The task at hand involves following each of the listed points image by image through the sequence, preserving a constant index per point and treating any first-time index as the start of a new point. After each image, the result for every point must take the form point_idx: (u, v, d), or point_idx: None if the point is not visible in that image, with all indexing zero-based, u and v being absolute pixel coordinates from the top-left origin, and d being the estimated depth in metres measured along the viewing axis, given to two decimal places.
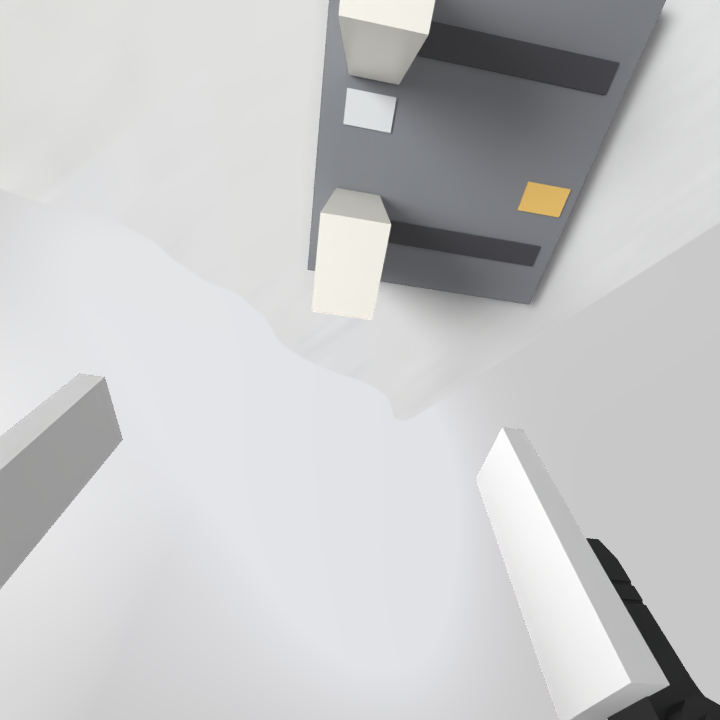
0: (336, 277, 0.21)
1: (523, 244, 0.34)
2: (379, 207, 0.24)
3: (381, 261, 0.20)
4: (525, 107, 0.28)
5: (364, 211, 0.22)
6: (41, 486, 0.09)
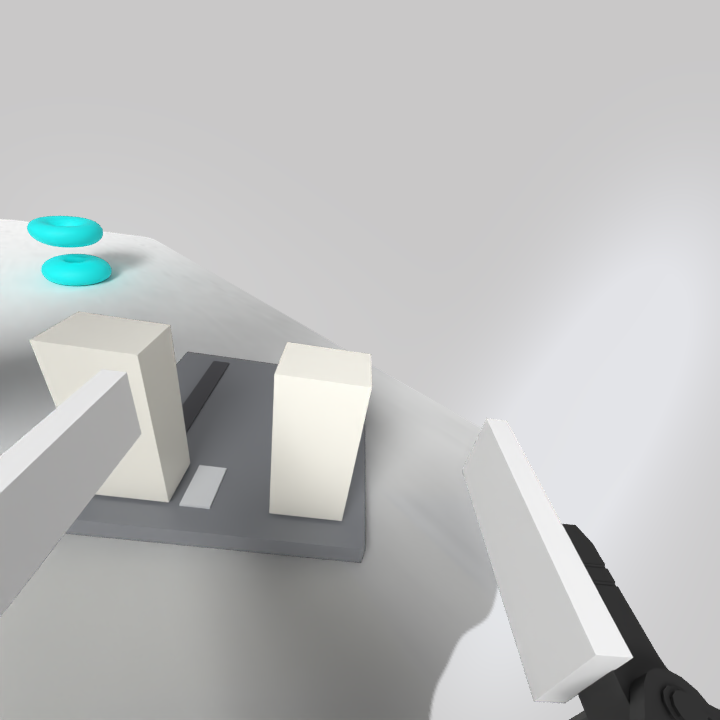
0: (333, 370, 0.22)
1: None
2: None
3: (317, 347, 0.24)
4: (227, 393, 0.40)
5: None
6: (70, 476, 0.09)
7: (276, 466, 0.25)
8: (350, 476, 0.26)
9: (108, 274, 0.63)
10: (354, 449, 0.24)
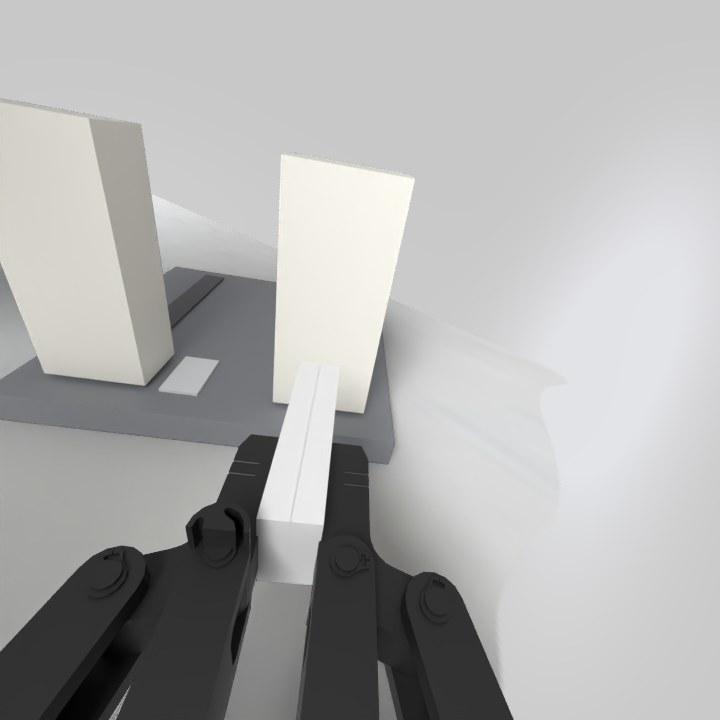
0: (360, 167, 0.16)
1: None
2: None
3: (335, 160, 0.18)
4: (221, 301, 0.34)
5: None
6: None
7: (282, 323, 0.19)
8: (377, 339, 0.20)
9: None
10: (385, 293, 0.18)
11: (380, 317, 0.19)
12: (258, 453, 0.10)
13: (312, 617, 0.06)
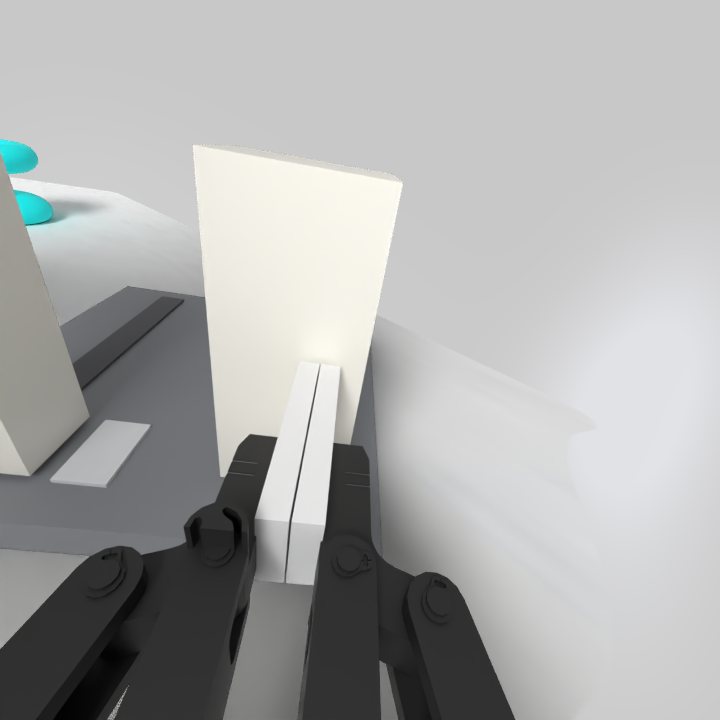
0: (322, 165, 0.11)
1: None
2: None
3: None
4: (174, 332, 0.28)
5: None
6: None
7: (222, 382, 0.14)
8: (356, 402, 0.14)
9: (47, 214, 0.51)
10: (364, 344, 0.13)
11: (358, 375, 0.14)
12: (257, 453, 0.10)
13: (314, 617, 0.06)
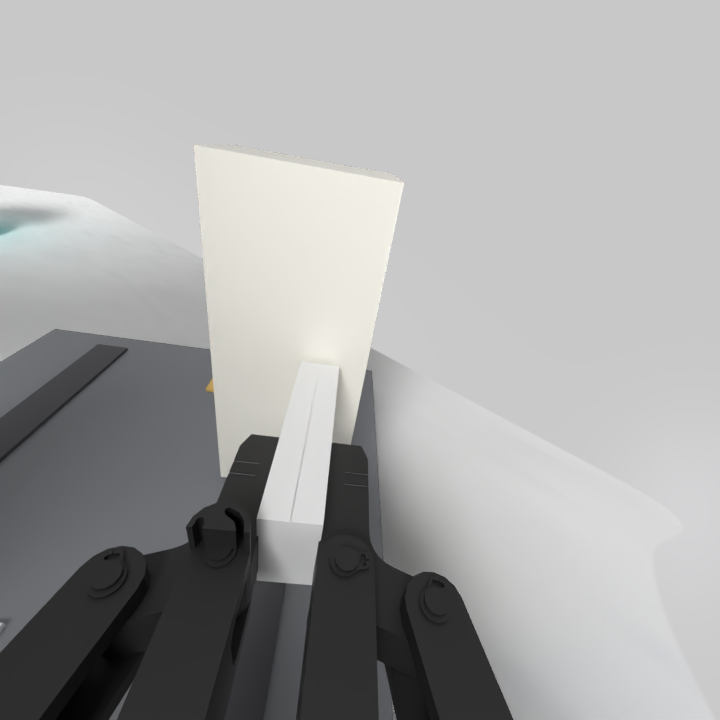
0: (323, 165, 0.11)
1: None
2: None
3: None
4: (100, 405, 0.20)
5: None
6: None
7: (223, 382, 0.14)
8: (356, 402, 0.14)
9: None
10: (365, 344, 0.13)
11: (359, 375, 0.14)
12: (258, 453, 0.10)
13: (312, 617, 0.06)
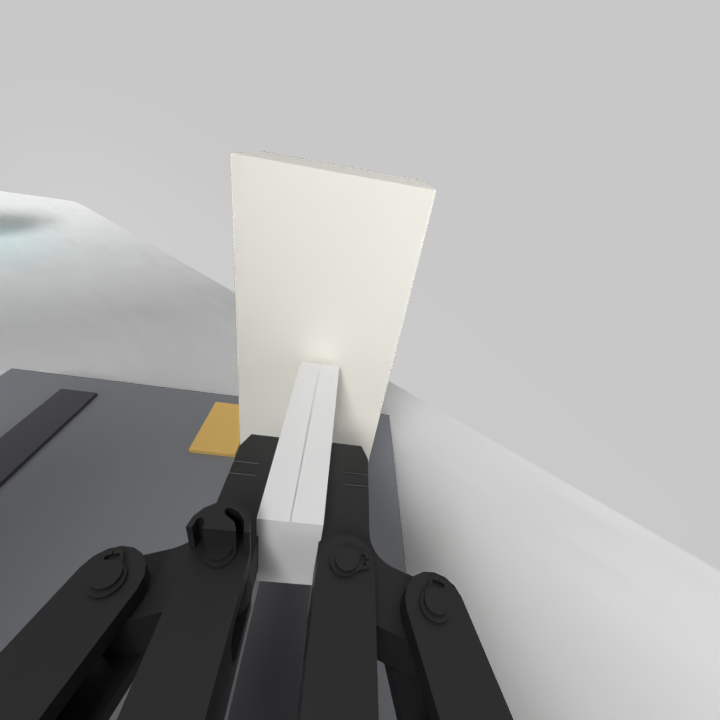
0: (353, 172, 0.11)
1: None
2: None
3: None
4: (52, 480, 0.16)
5: None
6: None
7: (248, 386, 0.14)
8: (379, 406, 0.14)
9: None
10: (390, 348, 0.13)
11: (383, 379, 0.14)
12: (258, 453, 0.10)
13: (312, 617, 0.06)
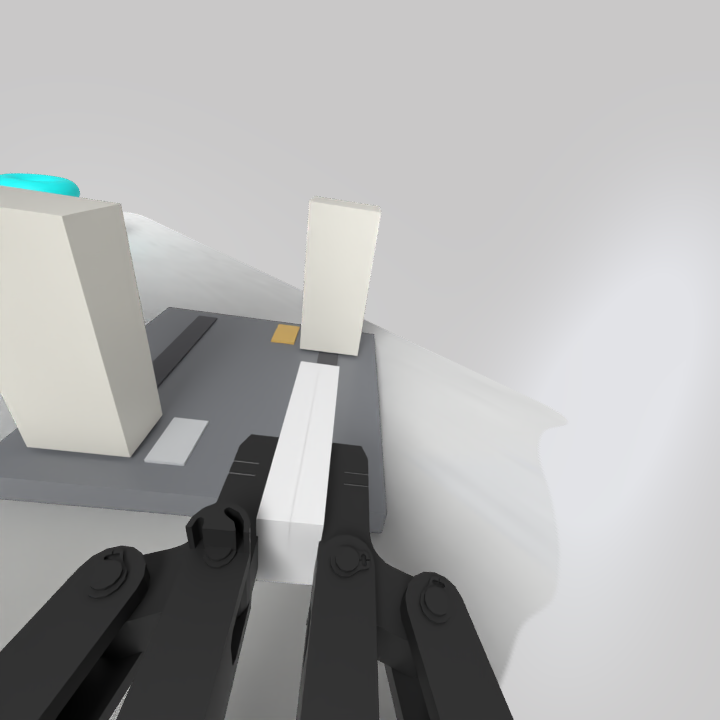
0: (351, 205, 0.29)
1: None
2: None
3: None
4: (213, 346, 0.34)
5: None
6: None
7: (307, 295, 0.32)
8: (364, 305, 0.33)
9: None
10: (368, 276, 0.31)
11: (365, 291, 0.32)
12: (258, 453, 0.10)
13: (312, 617, 0.06)
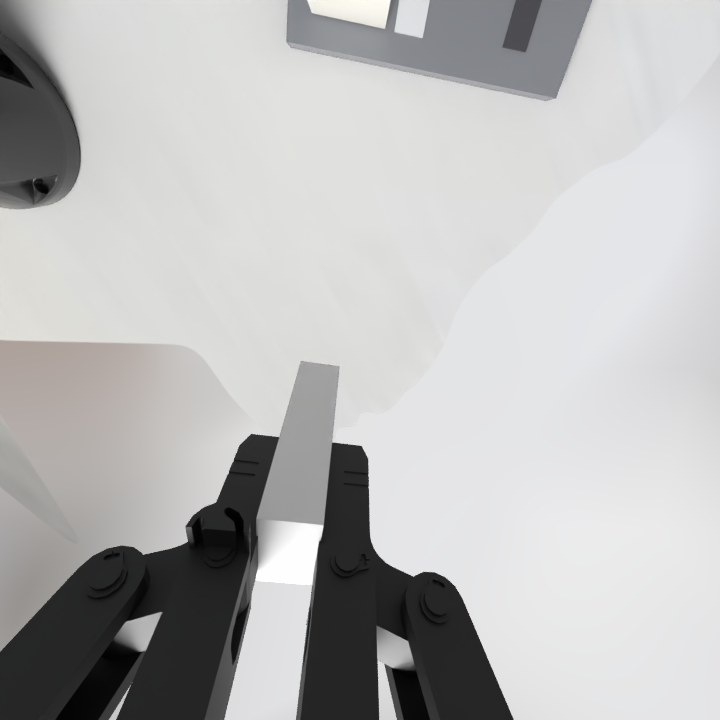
0: None
1: None
2: None
3: None
4: None
5: None
6: None
7: None
8: None
9: None
10: None
11: None
12: (258, 453, 0.10)
13: (312, 617, 0.06)
